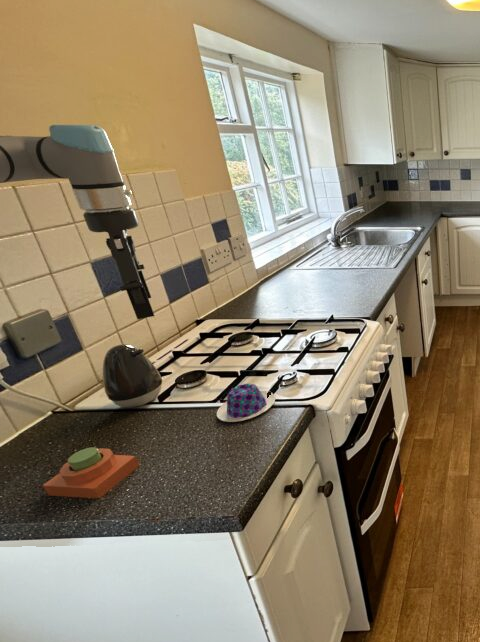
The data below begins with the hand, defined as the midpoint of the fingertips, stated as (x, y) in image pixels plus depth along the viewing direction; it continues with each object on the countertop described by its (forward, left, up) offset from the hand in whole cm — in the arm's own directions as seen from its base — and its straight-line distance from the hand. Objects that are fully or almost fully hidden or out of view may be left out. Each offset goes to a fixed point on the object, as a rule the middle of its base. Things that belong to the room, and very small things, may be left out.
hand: (144, 307), depth 89 cm
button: (+3, -24, -21) cm, 32 cm away
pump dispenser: (-11, +1, -26) cm, 28 cm away
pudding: (+17, 0, -26) cm, 31 cm away
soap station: (+3, -23, -25) cm, 35 cm away
